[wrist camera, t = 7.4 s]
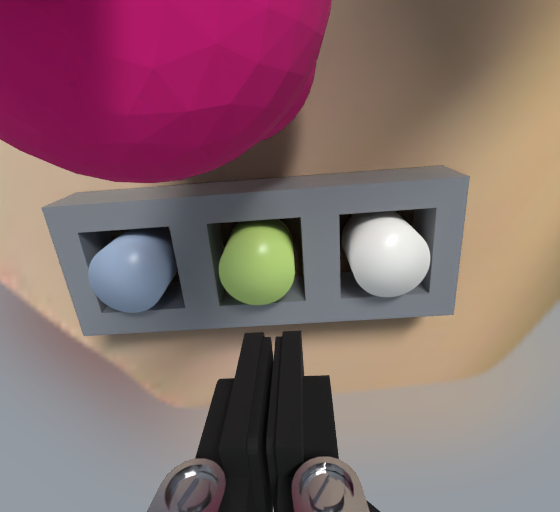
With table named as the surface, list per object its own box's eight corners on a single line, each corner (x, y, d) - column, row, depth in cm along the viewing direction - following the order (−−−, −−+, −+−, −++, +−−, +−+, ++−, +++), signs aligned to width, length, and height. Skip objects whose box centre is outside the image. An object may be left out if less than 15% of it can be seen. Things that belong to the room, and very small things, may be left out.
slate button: (176, 219, 23) (155, 242, 19) (187, 278, 24) (170, 310, 21) (112, 224, 23) (79, 248, 19) (127, 282, 24) (99, 315, 21)
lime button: (291, 211, 22) (292, 233, 19) (295, 272, 24) (296, 302, 20) (225, 216, 23) (213, 238, 19) (233, 275, 24) (223, 307, 20)
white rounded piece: (408, 203, 22) (433, 223, 18) (405, 264, 24) (427, 294, 20) (341, 208, 22) (352, 229, 19) (342, 268, 24) (352, 299, 20)
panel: (442, 165, 22) (469, 176, 19) (431, 287, 25) (453, 314, 22) (76, 192, 23) (41, 207, 20) (109, 306, 26) (83, 336, 23)
